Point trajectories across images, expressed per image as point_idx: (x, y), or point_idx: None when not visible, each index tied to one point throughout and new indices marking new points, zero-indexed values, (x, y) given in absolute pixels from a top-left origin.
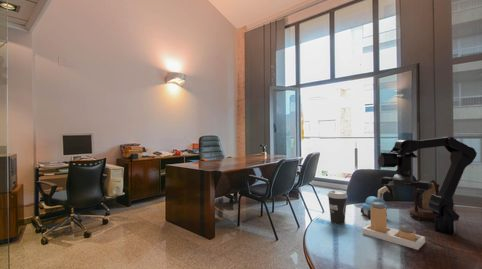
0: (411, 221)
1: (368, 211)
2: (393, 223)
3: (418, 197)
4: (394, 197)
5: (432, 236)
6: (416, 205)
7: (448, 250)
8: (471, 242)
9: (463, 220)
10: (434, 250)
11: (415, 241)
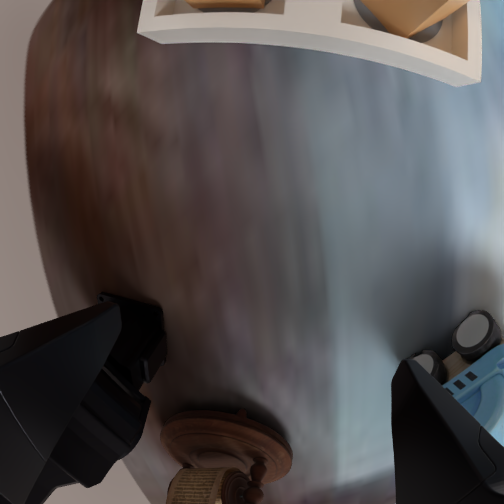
0: (278, 389)
1: (500, 342)
2: (362, 312)
3: (25, 331)
4: (395, 405)
5: (152, 216)
6: (253, 482)
7: (83, 73)
8: (48, 244)
9: (138, 448)
10: (125, 23)
11: (192, 4)
